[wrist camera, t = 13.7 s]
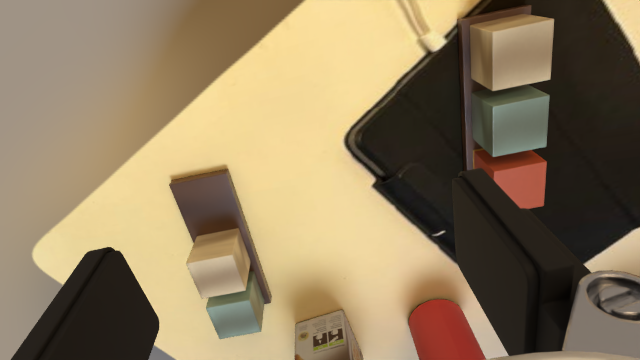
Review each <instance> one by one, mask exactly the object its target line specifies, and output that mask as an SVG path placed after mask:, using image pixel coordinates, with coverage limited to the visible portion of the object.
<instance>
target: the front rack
mask: <svg viewBox="0 0 640 360" xmlns="http://www.w3.org/2000/svg"><path fill="white" fill-rule="evenodd" d="M553 28H554V19H551V18H545V17H539V16H533V15H531V5H521V6H516V7H512V8H507V9H503V10H498V11H493V12H489V13H484V14H479V15H475V16H470V17H466V18H461V19H458V44H459V69H460V94H461V118H462V143H463V168H464V171H467V170H472V169H474V151H480V150H486V151H487V152H488V153H489V154H490V155H491V156H492V157H497V156H502V155H507V154H512V153H517V152H522V151H527V150H532V149H537V148H542V147H546V142H547V126H548V110H549V95H548V94H546V93H544V92H541V91H539V90H537V89H535V88H533V87H531V86H529V85H528V84H530V83H535V82H540V81H545V80H549V79H550V75H551V60H552V44H553Z"/></svg>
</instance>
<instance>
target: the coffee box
mask: <svg viewBox="0 0 640 360" xmlns="http://www.w3.org/2000/svg"><path fill="white" fill-rule="evenodd" d="M295 360H363V355H362V353H361V350H360V348H359V346H358V344H357V341H356V339H355V337H354V334H353V332H352V330H351V327H350V325H349V323H348V320H347V318H346V316H345V314H344V311H343V310H340V311H336V312H333V313H330V314H326V315H323V316H320V317H317V318H313V319H310V320H307V321H303V322H300V323H297V324H296V325H295Z"/></svg>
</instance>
